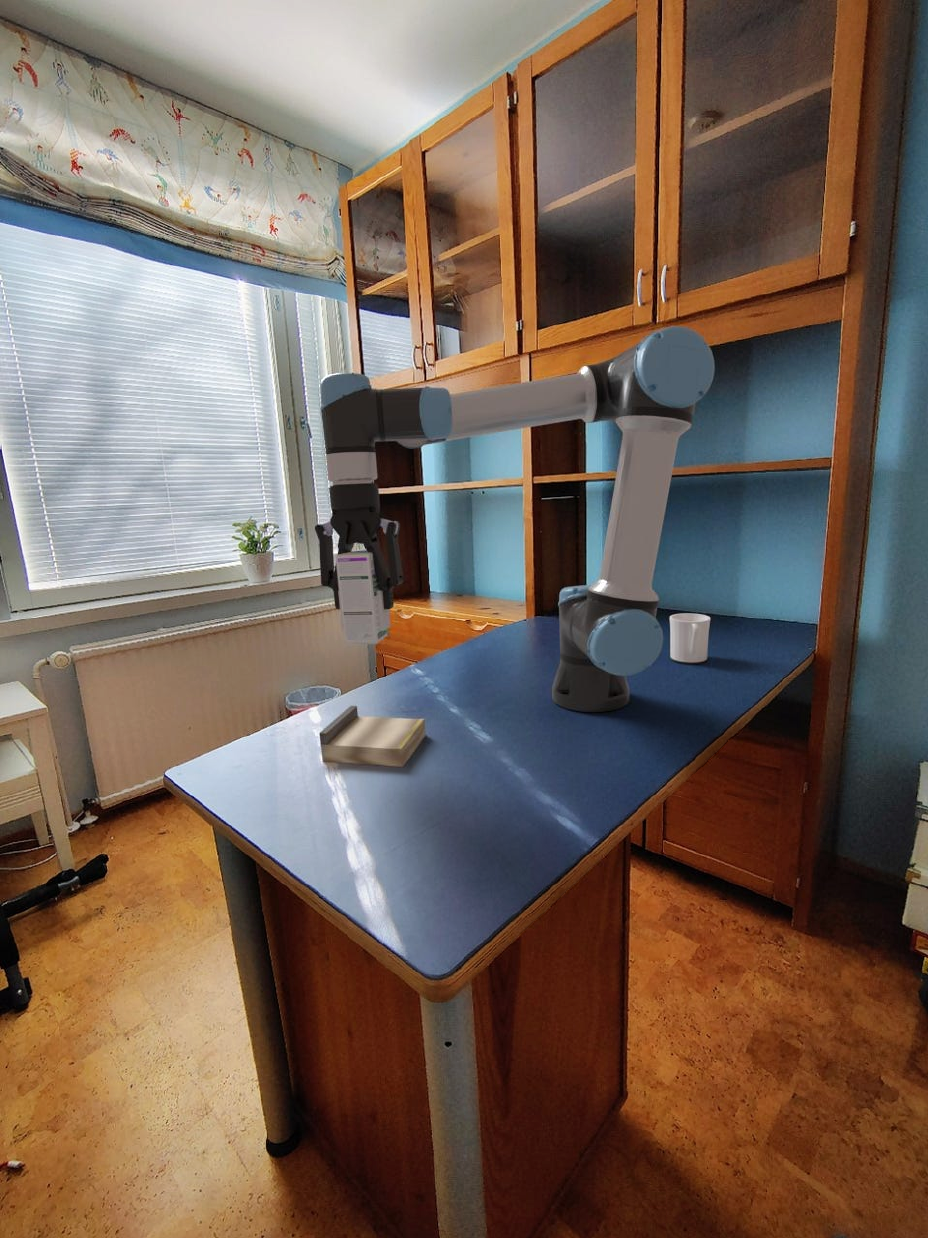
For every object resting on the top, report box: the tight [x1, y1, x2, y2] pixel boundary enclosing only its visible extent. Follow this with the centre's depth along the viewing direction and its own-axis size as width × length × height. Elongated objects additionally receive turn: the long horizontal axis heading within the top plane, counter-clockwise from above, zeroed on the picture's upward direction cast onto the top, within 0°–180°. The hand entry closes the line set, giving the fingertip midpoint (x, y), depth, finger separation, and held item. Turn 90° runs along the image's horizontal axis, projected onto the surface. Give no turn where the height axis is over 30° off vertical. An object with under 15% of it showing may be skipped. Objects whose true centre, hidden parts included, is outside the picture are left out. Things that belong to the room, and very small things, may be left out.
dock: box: [319, 705, 427, 768], centre depth 98 cm, size 14×12×5 cm
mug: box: [669, 612, 711, 666], centre depth 134 cm, size 11×9×10 cm
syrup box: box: [334, 548, 390, 645], centre depth 92 cm, size 6×6×14 cm
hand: (366, 628), depth 93 cm, fingers closed on syrup box, 6 cm apart
